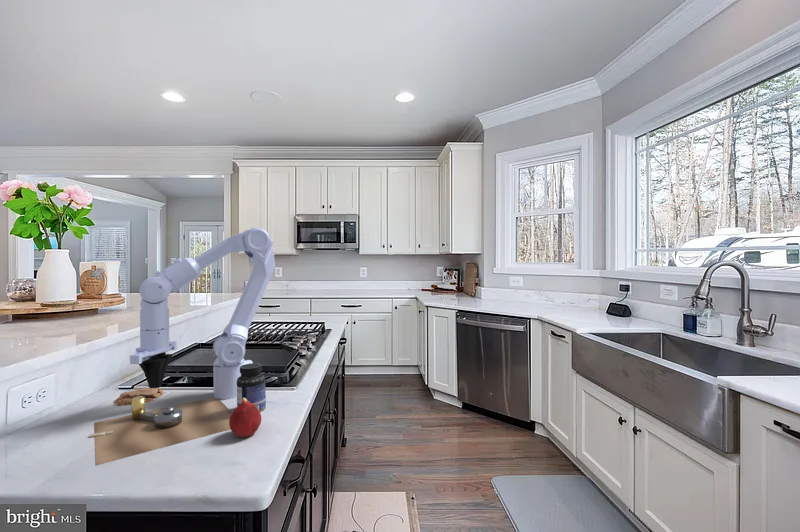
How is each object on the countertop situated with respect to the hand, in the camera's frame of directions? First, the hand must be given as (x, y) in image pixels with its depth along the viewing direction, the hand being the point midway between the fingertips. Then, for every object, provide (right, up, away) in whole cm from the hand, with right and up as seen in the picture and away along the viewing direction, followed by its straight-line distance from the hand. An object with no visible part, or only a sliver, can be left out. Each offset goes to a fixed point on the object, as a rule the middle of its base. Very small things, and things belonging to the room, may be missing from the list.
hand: (155, 387), depth 90 cm
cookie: (-8, -6, +7) cm, 12 cm away
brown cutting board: (+9, -6, -9) cm, 14 cm away
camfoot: (+5, -4, -8) cm, 10 cm away
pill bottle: (+23, -6, -2) cm, 24 cm away
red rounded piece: (+27, -6, -14) cm, 31 cm away
